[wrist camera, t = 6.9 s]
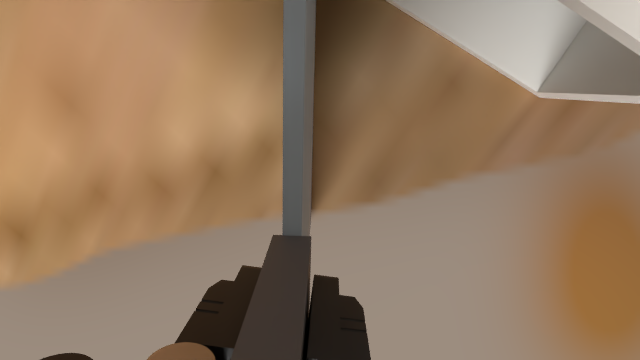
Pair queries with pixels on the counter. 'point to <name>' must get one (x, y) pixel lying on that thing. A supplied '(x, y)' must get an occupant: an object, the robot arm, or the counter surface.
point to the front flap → (288, 209)
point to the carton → (546, 42)
